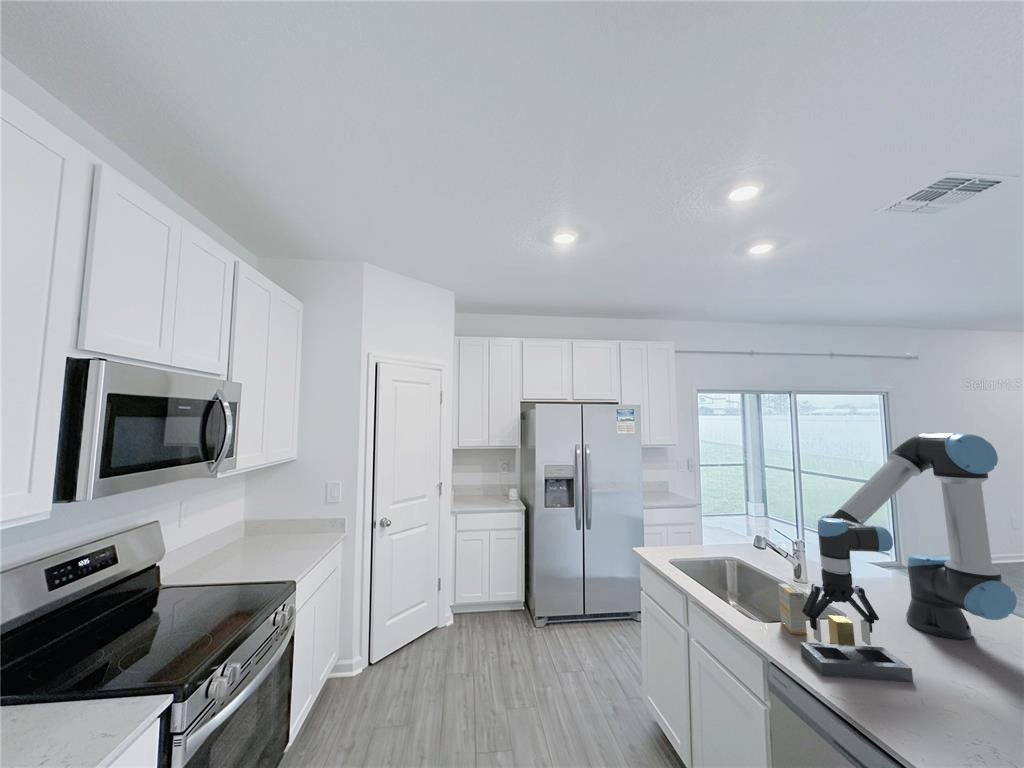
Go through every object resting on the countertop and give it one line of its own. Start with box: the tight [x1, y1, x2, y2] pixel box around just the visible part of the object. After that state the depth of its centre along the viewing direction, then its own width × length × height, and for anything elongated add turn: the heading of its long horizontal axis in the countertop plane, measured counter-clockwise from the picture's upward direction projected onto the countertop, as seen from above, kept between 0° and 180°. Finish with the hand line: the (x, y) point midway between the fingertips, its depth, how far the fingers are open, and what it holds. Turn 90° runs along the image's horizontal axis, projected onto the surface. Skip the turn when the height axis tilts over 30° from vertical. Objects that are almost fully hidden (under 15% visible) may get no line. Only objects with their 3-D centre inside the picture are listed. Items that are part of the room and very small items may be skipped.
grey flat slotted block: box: [799, 641, 914, 683], centre depth 117 cm, size 22×10×4 cm, turn 81°
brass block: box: [827, 614, 856, 646], centre depth 128 cm, size 4×4×8 cm
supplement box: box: [777, 583, 808, 636], centre depth 139 cm, size 8×5×13 cm, turn 168°
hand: (842, 641), depth 128 cm, fingers open, 13 cm apart
